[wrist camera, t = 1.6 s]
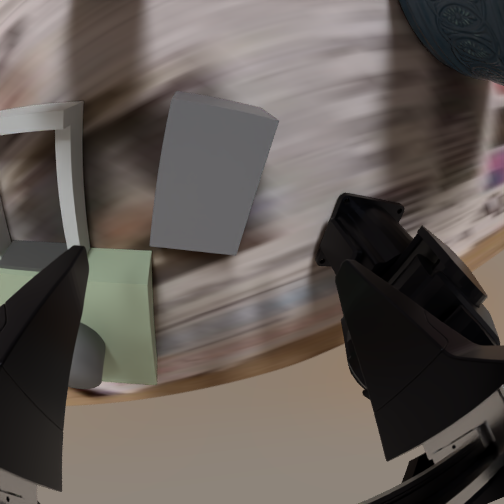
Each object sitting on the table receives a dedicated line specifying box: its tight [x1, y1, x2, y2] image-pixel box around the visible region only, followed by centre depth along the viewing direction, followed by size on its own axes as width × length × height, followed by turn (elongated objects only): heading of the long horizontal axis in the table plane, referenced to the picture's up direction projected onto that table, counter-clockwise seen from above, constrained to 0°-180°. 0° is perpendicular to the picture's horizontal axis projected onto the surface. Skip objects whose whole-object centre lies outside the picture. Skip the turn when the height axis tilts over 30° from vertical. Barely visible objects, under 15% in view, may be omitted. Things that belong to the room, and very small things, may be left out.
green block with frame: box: [0, 101, 157, 389], centre depth 16 cm, size 14×24×6 cm, turn 168°
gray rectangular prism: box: [150, 91, 279, 255], centre depth 15 cm, size 5×8×4 cm, turn 164°
